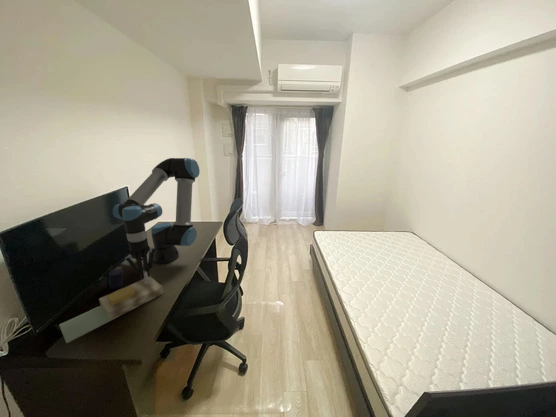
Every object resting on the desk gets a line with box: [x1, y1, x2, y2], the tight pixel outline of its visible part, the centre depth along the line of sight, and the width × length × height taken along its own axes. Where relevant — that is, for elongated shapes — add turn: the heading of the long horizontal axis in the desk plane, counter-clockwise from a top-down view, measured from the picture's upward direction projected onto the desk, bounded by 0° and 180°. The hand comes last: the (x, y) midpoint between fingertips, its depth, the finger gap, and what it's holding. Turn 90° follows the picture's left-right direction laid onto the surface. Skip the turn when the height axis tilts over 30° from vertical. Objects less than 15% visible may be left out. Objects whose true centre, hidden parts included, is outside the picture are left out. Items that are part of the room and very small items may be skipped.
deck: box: [98, 276, 165, 321], centre depth 104 cm, size 22×14×4 cm, turn 142°
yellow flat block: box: [107, 285, 135, 305], centre depth 100 cm, size 9×6×2 cm, turn 142°
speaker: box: [106, 265, 124, 290], centre depth 113 cm, size 8×6×10 cm
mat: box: [58, 305, 112, 344], centre depth 91 cm, size 14×14×1 cm
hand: (146, 282), depth 108 cm, fingers closed
